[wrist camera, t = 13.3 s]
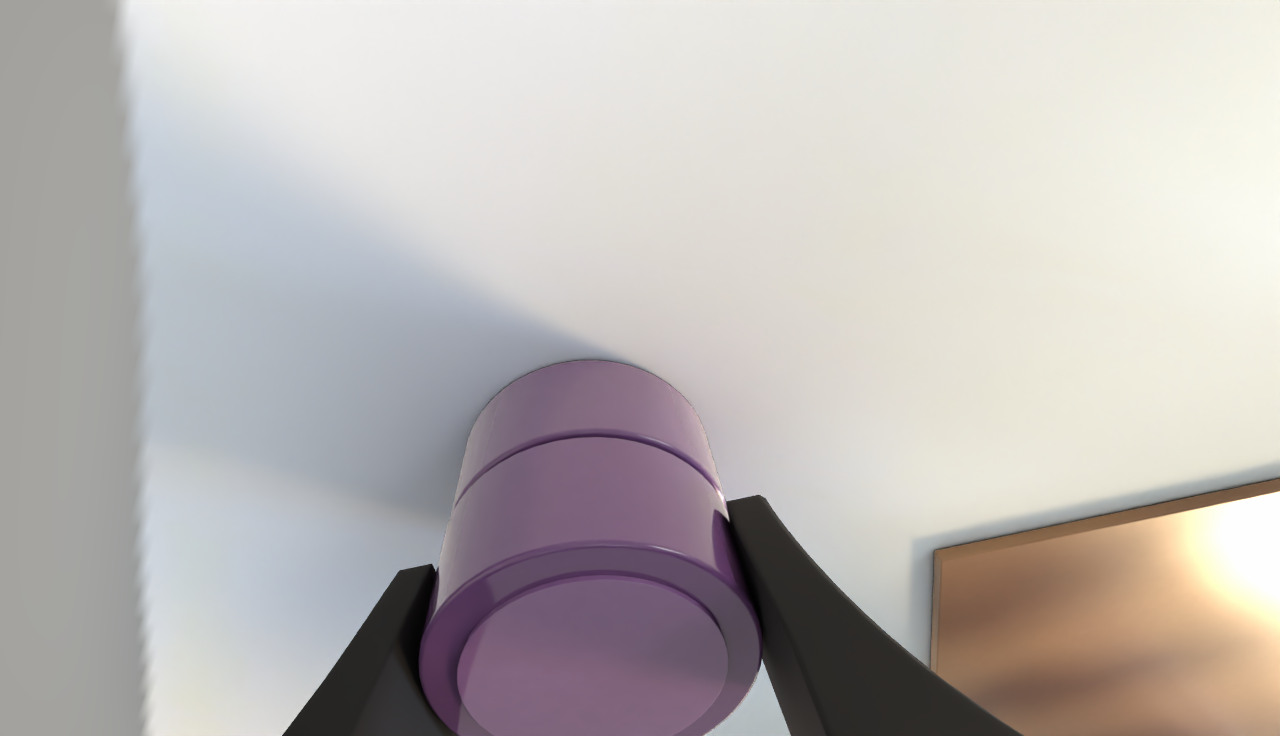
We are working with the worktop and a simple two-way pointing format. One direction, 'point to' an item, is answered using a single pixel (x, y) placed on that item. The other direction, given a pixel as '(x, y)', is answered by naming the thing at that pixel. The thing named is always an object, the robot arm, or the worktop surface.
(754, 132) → the worktop surface
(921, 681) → the robot arm
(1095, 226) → the worktop surface
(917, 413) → the worktop surface
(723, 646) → the dish middle
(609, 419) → the dish bottom
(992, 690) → the mat
